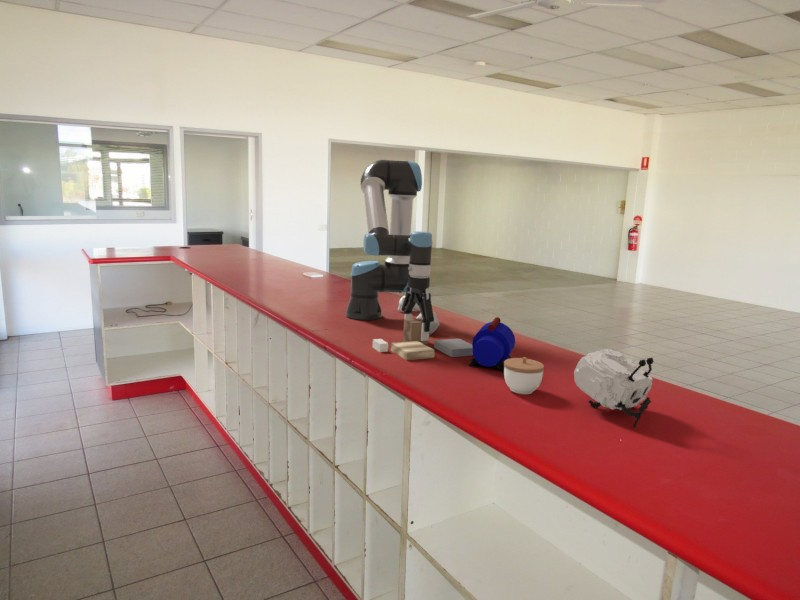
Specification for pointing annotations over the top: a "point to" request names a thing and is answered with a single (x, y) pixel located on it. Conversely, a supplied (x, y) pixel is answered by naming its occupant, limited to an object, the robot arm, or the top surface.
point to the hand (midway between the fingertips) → (415, 335)
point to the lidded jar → (523, 374)
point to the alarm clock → (493, 344)
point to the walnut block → (413, 330)
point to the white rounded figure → (402, 304)
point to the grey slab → (454, 347)
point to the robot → (614, 381)
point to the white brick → (380, 345)
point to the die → (432, 323)
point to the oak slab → (412, 350)
